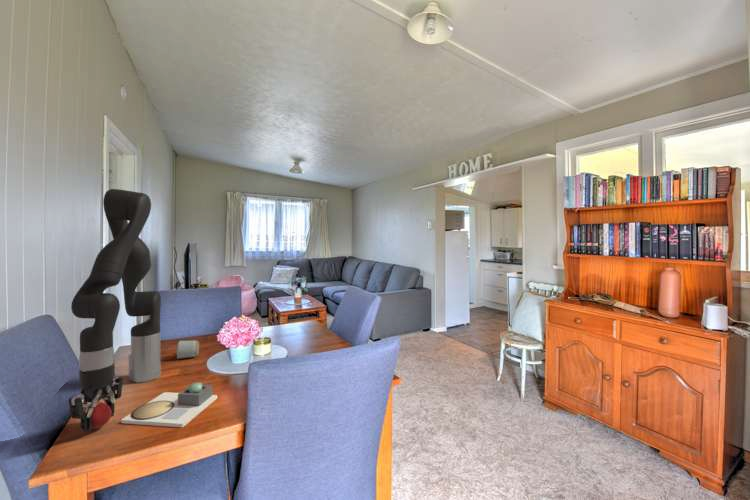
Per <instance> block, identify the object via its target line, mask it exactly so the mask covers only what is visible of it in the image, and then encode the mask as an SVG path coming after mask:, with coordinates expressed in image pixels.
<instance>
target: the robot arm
mask: <svg viewBox="0 0 750 500" xmlns="http://www.w3.org/2000/svg"><path fill="white" fill-rule="evenodd" d="M102 201H103V210H104V214H105V216H106V217H105V218H106V221H107V223H108V226H109V229H110V232H111V236H112V240H111V241H110V242H108V243H107V244H105V246H103V248H102V249H101V250H99V252H98V254H97V255H96V257H95V260H94V262H93V266H92V269H91V270H90V275H89V276H88V277H87V278H86V280H85V281H84V282H83V284H82V285H81V287H80V288H79V290H78V291H77V292H76V294H74V296H73V299H72V301H71V305H70V306H71V313H72V314H73V315H74V316H75V317H76V318H79V319H92V320H93V319H94V322H93V325H92V326H89V327H85V328H83V329H81V331H80V334H79V357H78V379H79V380H78V381H79V385H80V386H81V391H80V392H79V394H77V395H76V396H74V397H73V396H71V397H70V398H69V399H68V404H69V411H70V416H71V419H73V420H74V419H78V420H80V429H81V430H82V431H86V432H89V431H91V430H92V429H93V428H92V416H91V414H92V411H93V408H95V407H96V404H97V402H98V401H101V400H103V403H106V404H107V405H109V406H110V408H111V411H112V414H111V417H110V418H112V417H114V415H115V403H116V401H117V399H121V398H122V392H123V391H122V390H123V381H124V378H123V377H121V376H120V377H119V376H116V374H115V373H116V371H115V369H116V367H115V366H116V365H115V364H116V363H115V350H114V329H115V327H116V324H117V323H116V322H117V320H118V316H119V313H120V308H121V304H120V303H121V302H120V300H119V298H118V297H117V296H116V294H113V293H109V292H105V291H106V290H107V289H108V288H109V289H110V288H112V287H115V286H118V285H119V284H120V282H121V283H122V290H123V299H124V302H123V303H124V309H125V312H126V315H127V316H129V317H145V316H149V318H148V319H147V320H146V321H143V322H141V323H138V324H136V325H133V326H132V327H131V328H130V354H129V355H128V381H131V382H133V383H146V382H150V381H153V380H157V379H158V378H160V377H161V375H162V369H161V368H162V358H161V356H162V355H161V308H162V307H161V306H162V305H161V304H162V299H161V298H162V297H161V293H160V292H159V291H157V290H149V291H136V289H137V287H138V285H139V284H140V283H141V281H142V280H143V279H144V278H145V277H146V276H147V274H148V273H149V271H150V269H151V268H152V260H151V259H152V258H151V252H150V249H149V246H148V245H146V243H145V242H144V241H143V240H142V239H141V238H140V235H141V233H142V230H143V229H144V226H146V223H147V221H148V218H149V217H150V214H151V209H152V202H151V201H152V200H151V198H150V197H149V195H148V194H146V193H145V192H144V193H142V192H139V191H133V190H125V189H117V188H111V189H108V190H106V191H105V194H104V196H103V200H102ZM128 221H129V222H128Z"/></svg>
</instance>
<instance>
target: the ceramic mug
mask: <svg viewBox="0 0 750 500" xmlns="http://www.w3.org/2000/svg"><path fill="white" fill-rule="evenodd" d="M199 352H200V342H199V341H198V340H178V342H177V346H176V358H177V360H179V359H189V358H196V357H197V356H199Z"/></svg>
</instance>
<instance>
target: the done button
mask: <svg viewBox="0 0 750 500" xmlns="http://www.w3.org/2000/svg"><path fill="white" fill-rule="evenodd" d="M202 385H203V383H202V382H199V381H198V382H193V383H191V384H189V385H188V387H189V393H199V392H200V391H202Z"/></svg>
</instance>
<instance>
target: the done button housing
mask: <svg viewBox="0 0 750 500" xmlns="http://www.w3.org/2000/svg"><path fill="white" fill-rule="evenodd" d="M178 393H179V394H178V405H185V406H200V405H201V404H202V403H204V402H205V401H206V400H207V399H209V398H210V397H211V396H212V395H213V385H210V384H202V391H200V392H199V393H189V386H188V387H187V388H184V389H183V390H182V391H180V392H178Z"/></svg>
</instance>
